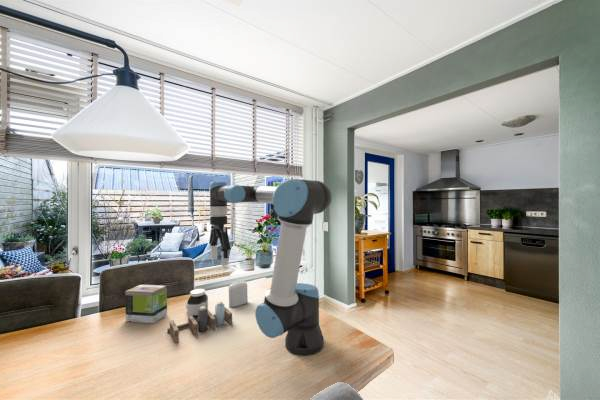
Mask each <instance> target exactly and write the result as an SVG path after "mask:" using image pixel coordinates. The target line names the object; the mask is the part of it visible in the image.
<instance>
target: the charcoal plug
mask: <svg viewBox="0 0 600 400" xmlns="http://www.w3.org/2000/svg"><path fill="white" fill-rule="evenodd" d="M208 310H209V308H206V307H205V306H202V307H200V309H199V310H198V318H197V320H198V333H199V334H200V333H202V332H205V331H208V330H209V326H208Z"/></svg>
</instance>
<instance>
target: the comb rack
mask: <svg viewBox="0 0 600 400" xmlns="http://www.w3.org/2000/svg"><path fill="white" fill-rule="evenodd" d="M224 314H225V325H224V326H221V327H216V318H215V314H212V312H211V311H209V309H208V328H210V329H208V330H207V331H205V332H202V333H200V332H198V319H195V318H193V316H192V315H190V316H189V315H187V319H188V321H187V322H185V323H182V324H179V325H177V324H176V322H175V320H169V328H167V332H166V333H167V334H170V336H171V339H172V338H173V339H172V340H173V342H174V344H177V343H180V340H179V338H180V337H179V336H180V335H179V334H180V330H184V329H186V328H188V329H189V330H190V332H191V334H192V335H193V337H194V338H195V337H198V336H199V335H200V336H201V335H203V334H206V333H209V332H212V331H216V330H218V329H221V328H225V327H228V326H230V325H231V326H232V325H233V313H232V312H231V311H230V310H229V309H228V308H227V307H226V306H225V305H224Z"/></svg>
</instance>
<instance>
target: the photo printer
mask: <svg viewBox="0 0 600 400" xmlns="http://www.w3.org/2000/svg"><path fill="white" fill-rule="evenodd" d="M248 299H249V297H248V283H247V281H245V280H244V281H243V280H242V281H241V280H239V281H234V282H232V283H231V284H229V285H228V307H229V308H236V307H238V306H239V307H240V306H241V305H245V304H248V302H249V301H248Z"/></svg>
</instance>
